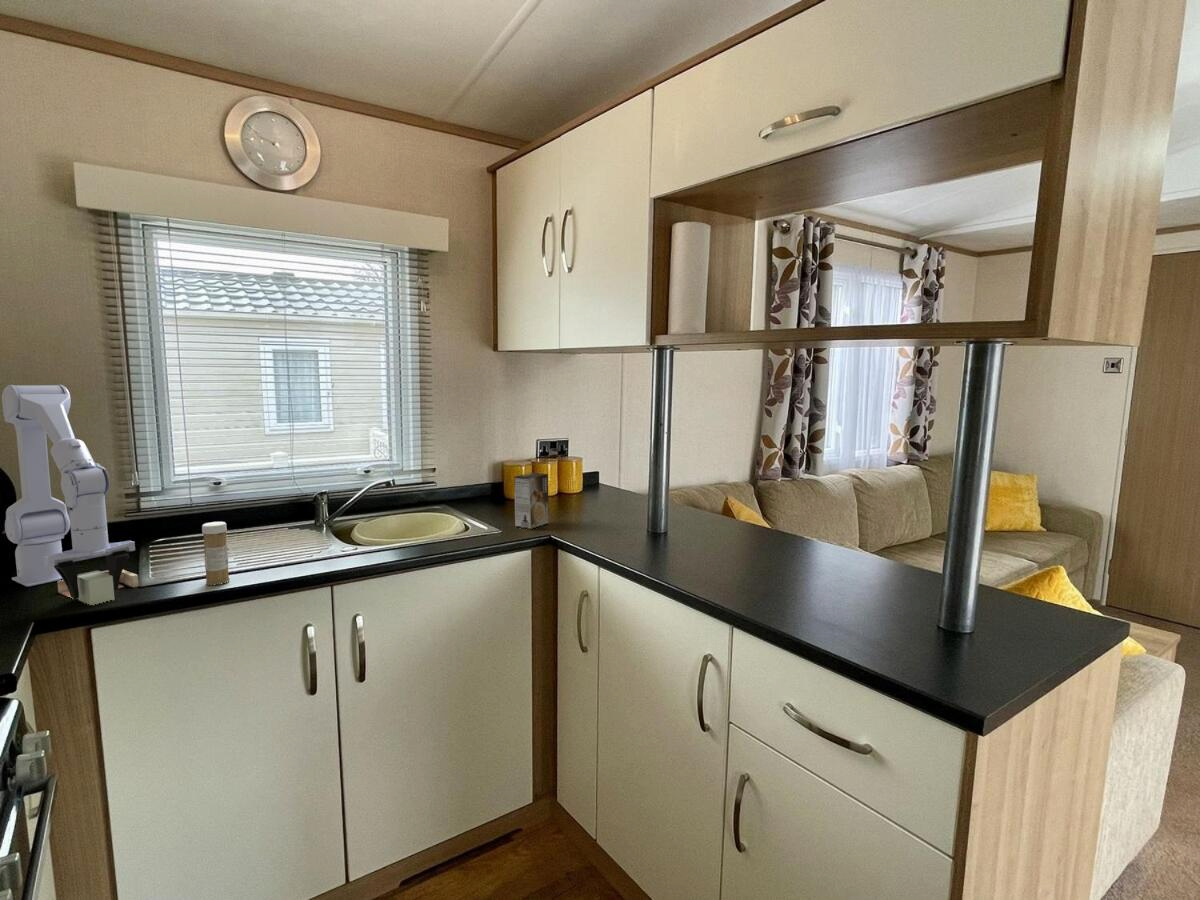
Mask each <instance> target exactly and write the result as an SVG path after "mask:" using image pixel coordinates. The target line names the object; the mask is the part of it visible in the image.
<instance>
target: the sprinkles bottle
mask: <svg viewBox="0 0 1200 900" xmlns="http://www.w3.org/2000/svg"><path fill="white" fill-rule="evenodd" d="M227 531H228V529H227V523H226V522H225V521H212V522H205V523H203V524H202V525H201V532H202V535H203V547H204V548H203V549H204V550H203V551H204V569H205V570H204V571H205V577H206V578H205V579H206V580H205V584H206V585H207V584H208V586H215V585H214V584H221V583H225V582H227V581H228V582H230V577H229V553H228V543H227V541H228V540H227ZM228 582H227V583H228ZM225 584H226V583H225ZM221 585H222V584H221Z"/></svg>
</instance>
